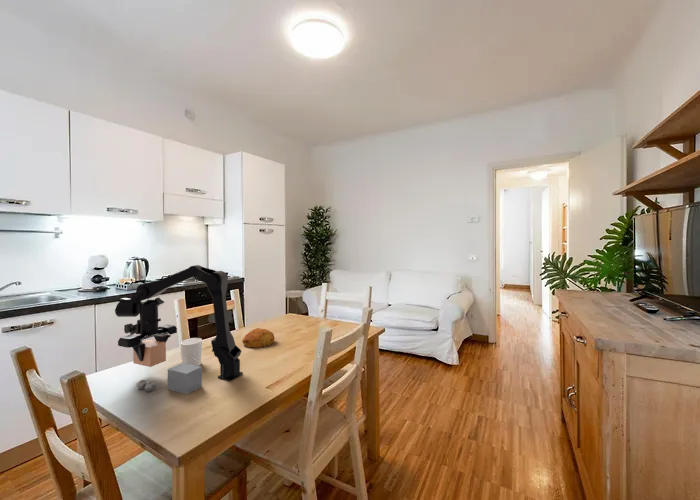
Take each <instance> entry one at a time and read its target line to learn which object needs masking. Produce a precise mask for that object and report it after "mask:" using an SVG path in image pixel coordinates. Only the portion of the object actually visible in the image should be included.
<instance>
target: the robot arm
mask: <svg viewBox="0 0 700 500" xmlns="http://www.w3.org/2000/svg"><path fill="white" fill-rule="evenodd" d="M193 278H195V279H197V280H198V281H200V282H201V283H204V284H206V287H207V290H208V292H209V294H210V295H211V297H212V304H213V305H212V307H213V315H214V316H213V317H214V322H215V323H214V324H215V330H216V331H215V332H216V336H215V337H214V338H213V339H211V343H210V344H211V347H212V349H211V352H212V353H213V355H214V357H216V358H217V360H218V363H219V367H220V370H219V371H220V372H219V373H220V375H218V376H217V378H218V379H220V380H226V381H229V382H230V381H233V380H235V379H237V378H238V377H240V376H242V375H243V373H244V372H242V371H241V361H240V360H241V359H240V358H239V357H240V356H241V353H242V349H241V348H240V347H238V346H237V345H236V342H235V338H234V335H233V334H232V332H231V330H230V325H229V323H230V322H229V314H228V313H229V312H228V307H227V306H228V305H227V304H228V303H227V294H226V293H227V290H228V284H229V283H228V282H229V276H228V274H227V273H226V272H225V271H223V270H215V269H211V268H208V267H204V266H202V265H199V264H196V265H191V266H189V267H188V268H186V269H183V270H180V271H179V272H176V273H174V274H171V275H169V276H166V277H165V278H161V279H159V280H154V281H150V282H146V283H142V284H141V283H140V284H139V285H138V286H137V287H136V291H135V292H134V294H133V295H132V296H131V298H128V297H123V298H118V302H117V304H116V306H115V309H114V313H115V316H116V317H117V318H122V317H123V318H124V317H125V318H127V317H128V318H131V317H132V318H133V317H138V316H139V319H137V321H136V324H133V323H131V322H130V323H126V324H124V327H123V328H124V329H123V332H124V333H125V334H128V335H125V336H121V337H119V338H118V340H117V346H118V347H123V348H128V349H129V348H132V350H133V349H134V350H135V352H136V354H137V356H138V358H139V360H140V361H143V358H144V350H145V344H143V343H142V342H143V341H145V340H146V339H147V340H148V339H150V338H153V337H154V339H155V341H160V342H166V343H167V341H168V340H169V338H171V337H172V335H174V334H176V333H177V334H178V328H177V326H176V325H174V324H165V325H160V326H159V322H161V320H162V319H161V318H160V317H159V306H161V305H163V304H164V303H165V301H164V300H163V299H162V298H160V297H159V295H161V294H162V293H164V292H165V291H166V290H167V289H169V288H171V287H173V286H176V285H178V284H180V283H182V282H186V281H187V280H190V279H193ZM157 296H158V297H157ZM155 297H156V298H155ZM152 298H154V299H152Z"/></svg>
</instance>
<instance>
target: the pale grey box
mask: <svg viewBox="0 0 700 500" xmlns="http://www.w3.org/2000/svg"><path fill="white" fill-rule="evenodd" d="M202 367H203V366H200V365H199V366H196V365H191V364H187V363H182V362H181V363H179V364H177V365H175V366H172V367H170V368H168V369H167V390H170V391H173V392H176V393H181V394H184V395H189V394H191V393H192V392H195V391H196V390H198V389H199V388H201V387H203V377H202V376H203V368H202Z"/></svg>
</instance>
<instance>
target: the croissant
mask: <svg viewBox="0 0 700 500" xmlns="http://www.w3.org/2000/svg"><path fill="white" fill-rule="evenodd" d="M241 342H242V344H243V346H246V347H248V348H258V349H260V348H263V347H268V346H270V345H273V344H274V342H275V334H274V333H273V332H272V331H270V330H268V329H266V328H261V327H259V328H258V327H257V328H253V329H252V330H250V331H249V332H248V333H246V334H245V335H244V336H243V338H242V340H241Z"/></svg>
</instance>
